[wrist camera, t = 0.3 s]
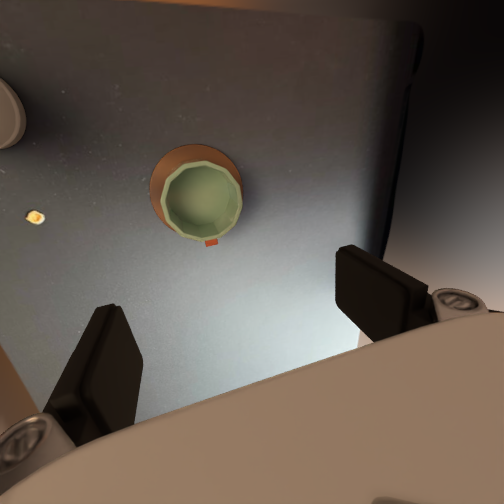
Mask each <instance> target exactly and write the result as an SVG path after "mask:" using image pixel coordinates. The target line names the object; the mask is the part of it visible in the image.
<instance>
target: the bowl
mask: <svg viewBox="0 0 504 504" xmlns="http://www.w3.org/2000/svg"><path fill="white" fill-rule="evenodd" d="M160 202H161V206H162V209H163V213H164V216H165V220H166V222H167V223H168V224H169V225H170V226H171V227H172V228H173V229H174V230H175V231H176V232H177V233H178V234H179V235H180V236H182V237H185V238H189V239H193V240H196V241H200V242H203V241H205V244H206V247H208V246H212V245H217V244H218V241H217V238H221V237H222V236H223V235H224V234H226V233H227V232H228V231H229V230H230V229H231V228H233V227H234V226H235V225H236V223H237V220H238V218H239V215H240V212H241V210H242V207H243V204H242V197H241V191H240V186H239V184H238V183H237V182H236V180H235V179H234V178H233V177H232V175H231V174H230V173H229V171H228V170H227V169H226V168H223V167H221V166H219V165H217V164H214V163H212V162H209V161H207V160H204V159H202V158H199V159H191V160H186V161H182V162H180V163H179V164H178V165H177V166H176V167H174V168H173V169H172V170H171V171H170V172H169V173H168V174H167V177H166V181H165V184H164V188H163V191H162V195H161V199H160Z"/></svg>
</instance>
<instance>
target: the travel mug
mask: <svg viewBox="0 0 504 504" xmlns="http://www.w3.org/2000/svg"><path fill="white" fill-rule="evenodd" d="M25 128H26V115H25V110H24V108H23V105H22V103H21V101H20V99H19V98H18V96H17V94H16V93H15V92H14V91H13V89H12V88H11V87H10V86H9V85H8V84H7V83H6V82H5V81H4V80H3V79H1V78H0V149H5V148H8V147H11V146H12V145H14V144H16V143H17V142H18V141H19V140H20V139H21V137H22V136H23V134H24V132H25Z"/></svg>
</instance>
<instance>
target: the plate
mask: <svg viewBox="0 0 504 504" xmlns="http://www.w3.org/2000/svg"><path fill="white" fill-rule="evenodd" d="M199 158H202V159H204V160H207V161H209V162H212V163H214V164H217V165H219V166H221V167H223V168H226V169H227V170H228V171H229V173H230V174H231V175H232V177H233V178H234V179H235V180H236V182H237V183H238V184H239V186H240V191H241V197H242V199H243V185H242V180H241V177H240V174H239V172H238V170H237V168H236V167H235V165H234V164H233V163H232V162H231V160H230V159H229V158H228V157H227V156H225V155H224V154H223V153H221V152H220V151H218V150H216V149H214V148H212V147H209V146H205V145H199V144H190V145H184V146H180V147H178V148H175V149H173V150H171V151H170V152H168V153H167V154H166V155H164V157H163V158H162V159H161V160H160V161H159V162H158V164H157V165H156V167H155V169H154V171H153V173H152V176H151V180H150V198H151V202H152V205H153V208H154V210H155V212H156V214H157V215H158V217H159V218H160V219H161V220H162V221H163V223H164V224H165V225H167V226H168V227H169V228H171V229H172V230H174V229H173V228H172V227H171V226H170V225H169V224H168V223H167V222H166V220H165V216H164V213H163V209H162V206H161V202H160V199H161V195H162V191H163V188H164V184H165V181H166V177H167V174H168V173H169V172H170V171H171V170H172V169H173V168H174V167H176V166H177V165H178V164H179V163H180V162H182V161H186V160H191V159H199ZM174 231H175V230H174ZM175 232H176V231H175Z"/></svg>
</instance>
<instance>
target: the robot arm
mask: <svg viewBox="0 0 504 504" xmlns="http://www.w3.org/2000/svg"><path fill="white" fill-rule="evenodd" d="M427 291H428V285H426V284H424V283H423V282H421V281H419V280H417V279H415V278H413V277H412V276H410V275H408V274H406V273H404V272H402V271H401V270H399V269H397V268H395V267H393V266H391V265H390V264H388V263H386V262H384V261H382V260H380V259H379V258H377V257H375V256H373V255H371V254H369V253H368V252H366V251H364V250H362V249H360V248H358V247H357V246H355V245H347V246H343V247H340V248H339V250H338V251H337V252H336V270H335V301H336V304H337V306H338V308H339V309H340V310H341V311H342V312H343V313H344V314H345V315H346V316H347V317H348V318H349V319H350V320H351V321H352V322H353V323H355V324H356V325H357V326H358V327H359V328H360V329H361V330H362V331H363V332H364V333H365V334H366V335H367V336H368V337H369V338H370V339H371V340H372V341H373V342H374V343H371V344H368V345H365V346H362V347H359V348H356V349H353V350H350V351H347V352H344V353H341V354H338V355H335V356H332V357H329V358H326V359H323V360H320V361H317V362H314V363H311V364H308V365H305V366H302V367H299V368H296V369H293V370H290V371H287V372H284V373H281V374H278V375H275V376H273V377H270V378H267V379H264V380H261V381H258V382H255V383H252V384H249V385H246V386H243V387H240V388H237V389H234V390H232V391H229V392H226V393H223V394H220V395H217V396H214V397H211V398H208V399H205V400H203V401H200V402H197V403H194V404H191V405H188V406H185V407H182V408H179V409H176V410H174V411H171V412H168V413H165V414H162V415H159V416H156V417H153V418H151V419H148V420H145V421H142V422H139V423H137V424H134V421H135V415H136V408H137V402H138V396H139V389H140V383H141V376H142V370H143V358H142V355H141V353H140V350H139V348H138V346H137V343H136V341H135V338H134V336H133V334H132V331H131V329H130V326H129V324H128V322H127V319H126V317H125V315H124V312H123V310H122V308H121V306H116V305H115V304H109V305H105V306H101V307H97V308H96V309H95V311H94V313H93V315H92V317H91V319H90V321H89V323H88V325H87V327H86V329H85V331H84V333H83V335H82V337H81V339H80V341H79V343H78V345H77V347H76V349H75V350H74V352H73V353H72V355H71V357H70V359H69V361H68V363H67V365H66V367H65V369H64V371H63V373H62V375H61V377H60V379H59V380H58V382H57V384H56V386H55V388H54V390H53V392H52V394H51V396H50V398H49V400H48V402H47V404H46V406H45V408H44V410H43V412H42V413H37V414H33V415H31V416H29V417H26V418H24V419H22V420H20V421H19V422H17V423H15V424H14V425H12V426H11V427H10V428H8V429H7V430H6V431H5V432H3V433H2V434H1V435H0V504H504V312H500V311H494V310H488V309H487V307H486V305H485V303H484V302H483V301H482V300H481V299H480V298H479V297H477V296H476V295H474V294H471V293H469V292H466V291H462V290H459V289H453V288H443V289H438V290H435V291H434V292H433V293H432V295H430V294H428V293H427Z"/></svg>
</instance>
